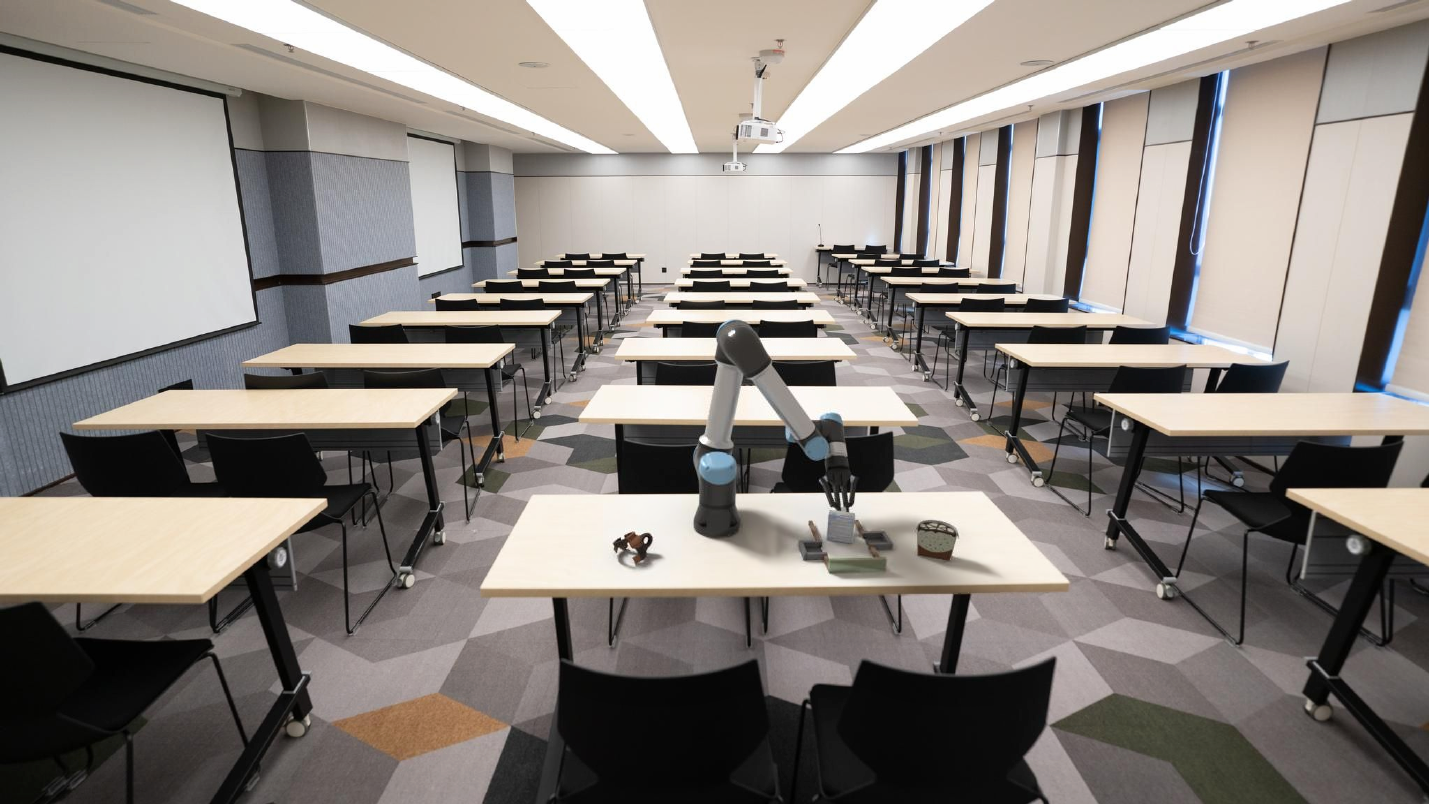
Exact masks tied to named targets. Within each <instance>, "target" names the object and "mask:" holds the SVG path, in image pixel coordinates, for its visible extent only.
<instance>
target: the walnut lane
mask: <svg viewBox="0 0 1429 804" xmlns="http://www.w3.org/2000/svg"><path fill="white" fill-rule="evenodd" d="M808 527H809V530H810V532H811V535H812V536H813V538H814V539H813V540H822V539H821V537H820V535H819V532H818V530H817V528H816V526H815V524H814V521H813V520H811V519H809V520H808ZM854 527H855V528H856V529H857V531H858V533H859V535H860V537H861V538H862V539H863V538H864V537H863V533H862V531H866V530H865V528H864V527H863V525H862V524H861V521H860V520H859V519H855V520H854ZM865 536H866V535H865ZM821 544H822V545H823V542H822V543H821ZM818 547H819V545H818ZM867 547H869V548H868V551H869V553H870V554H871V557H870V556H869V557H835V558H834V557H833V558H831V557H830V556H829V555H828V556H824V560H823V562H824V566H825V567H826V570H827V571H828V573H829V574H836V573H837V574H842V573H850V574H851V573H885V572H887V571H886V570H887V560H888V559H887V557H886V556H880V554H879V552H878V550H876V549H875V548H874V546H868V545H867Z"/></svg>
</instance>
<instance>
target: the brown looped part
mask: <svg viewBox="0 0 1429 804" xmlns="http://www.w3.org/2000/svg"><path fill="white" fill-rule="evenodd" d="M623 536H624V537H623V539H622V537H618V538H617V539H615V540H614V541H613V542H612V545H613V551H614V552H615V554H618V551H619V549H620V550H621V551H627V548H628V547H629V546H630V548H631V549H633V550H635V551H636V552H637V554H636V555H634V556H633V557H632V561H633V562H634V565H637V564H639V563H641V562H642V561H644V560H645V559H647V557H648V555H647V554H648V552H647V551H648V549H649V548H650V547H651V546H652V543H653V542H654V539H653V537H654V536H652V534H651V533H649V532H644V533H641V534H636V532H635V531H630V532H627V533H626V534H624V535H623ZM646 538H647V541H646V543H645V539H646Z"/></svg>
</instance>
